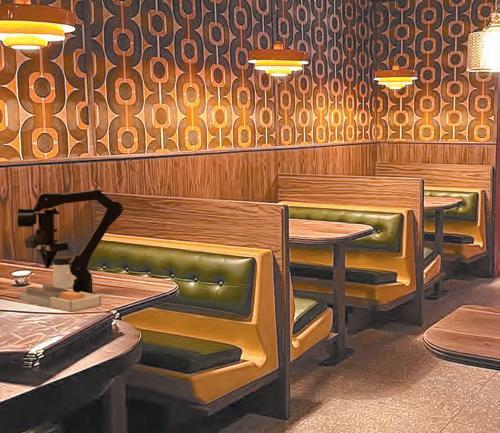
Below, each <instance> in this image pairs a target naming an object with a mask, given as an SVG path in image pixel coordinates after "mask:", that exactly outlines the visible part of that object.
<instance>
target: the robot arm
mask: <svg viewBox="0 0 500 433" xmlns="http://www.w3.org/2000/svg"><path fill="white" fill-rule="evenodd" d="M88 201H96V202H98V204H100V205H102V207H104V209H103V212H102V216H101V218H100V221H99V222H98V224H97V226H96V228H94V230H93V232H92V233H91V235H90V236H89V238H88V240H87V242H86V243H85V245H84V246H83V248H82V249H81V251H80V252H79V253H78V254H77V253H76V252H74V253H73V255H72V257H73V258H72V259H71V260H70V261H69V262H70V265H69V269H70V272H71V273H72V275H74V277H75V278H74V284H73V287H72V288H73V289H72V291H75V292H78V293H79V292H85V293H90V294H95V295H96V292H94V291H93V278H92V273H91V271H90V270H89V269H88V267H89V262H90V260H91V258H92V255H93V253H94V252H95V250H96V249H97V247H98V246H99V243H100V242H101V240H102V239H103V237H104V235H105V234H106V233H107V231H108V229H110V228H109V227H110V226H111V225H112V224H113V223H114V222H115V221H116V220H117V219H119V217H120V215H122V213H123V211H124V210H123V209H124V208H123V204H122V203H120V202H119V201H117V200H112V199H111V198H109V197H108V196H107V195H106V194H104V193H103V192H102V191H101V190H99V189H97V188H94V189H91V190H82V191H81V190H80V191H75V192H74V191H73V192H66V193H59V192H46V191H45V192H41V193H40V194H39V195H38V197H37V203H36V204H35V205H34V206H33V208H17V228H34V225H36V224H38V229H35V233H34V234H33V235H30V236H28V237H26V238H25V239H24V243H25V248H27V249H34V250H35V251H36V252H37V253H39V254H40V257H41V258H42V262H43V264H44V267H45V269H49V268H51V264H53V259H54V257H56V255H57V253H58V252H63V251H69V250H70V244H69V243H68V242H65V241H58V239H56V238H55V237H56V234H55V233H57V232H58V228H55V215H60V211H58V210H57V209H56V207H57V206H60V205H64V204H70V203H71V204H72V203H78V202H80V203H81V202H88ZM51 208H52V209H51ZM43 210H44V212H42V211H43ZM37 220H38V223H37Z"/></svg>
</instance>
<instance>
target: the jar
mask: <svg viewBox="0 0 500 433" xmlns="http://www.w3.org/2000/svg"><path fill="white" fill-rule="evenodd" d="M72 258H73V255H57V256H56V255H55V257H54V259H53V261H52V284H53V285H52V286H53V287H58V288H63V289H69V288H73V284H74V279H75V276H74V275H72V273H71V272H70V269H69V265H70V262H69V261H70V260H71V259H72Z"/></svg>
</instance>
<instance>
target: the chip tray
mask: <svg viewBox="0 0 500 433" xmlns="http://www.w3.org/2000/svg"><path fill="white" fill-rule="evenodd" d="M79 293H82V294H84V299H79V300H74V301H68V300H64V299H59V298H55V297H50V307H49V308H52V309H57V310H61V311H65V312H69V313H72V312H76V311H82V310H86V309H90V308H96V307H100V306H102V295H98V294H96V293H95V294H90V293H85V292H79Z"/></svg>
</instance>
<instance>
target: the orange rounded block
mask: <svg viewBox="0 0 500 433" xmlns="http://www.w3.org/2000/svg"><path fill="white" fill-rule="evenodd" d="M71 293H76V292H73V290H72V291H67V292H61V293H60V297H61V299H64V300H68V296H67V294H71Z"/></svg>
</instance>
